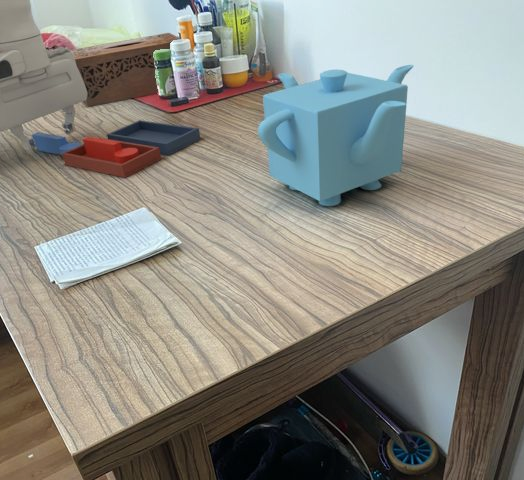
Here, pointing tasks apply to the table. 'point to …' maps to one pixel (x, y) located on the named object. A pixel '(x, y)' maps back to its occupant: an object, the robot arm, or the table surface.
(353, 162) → the teakettle
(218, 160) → the table surface
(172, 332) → the table surface
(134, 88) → the tissue box cover
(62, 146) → the blue stepped block
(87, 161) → the red tray
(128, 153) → the red block with disc
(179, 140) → the blue tray
